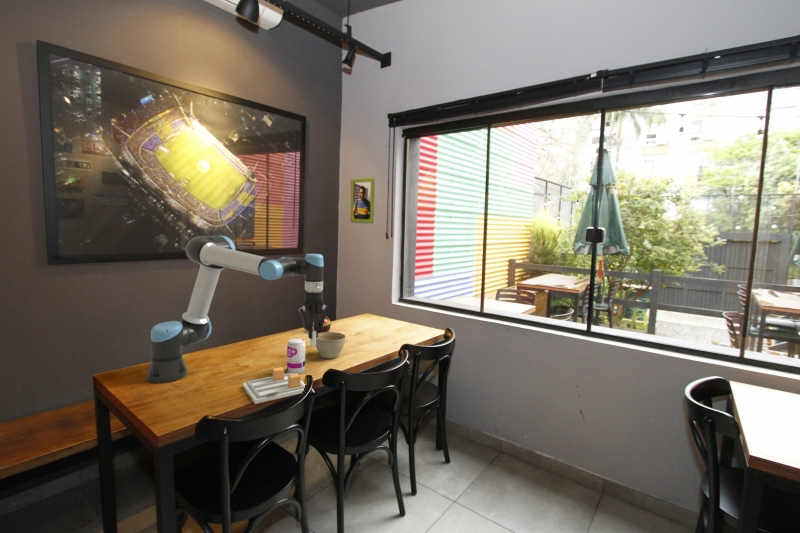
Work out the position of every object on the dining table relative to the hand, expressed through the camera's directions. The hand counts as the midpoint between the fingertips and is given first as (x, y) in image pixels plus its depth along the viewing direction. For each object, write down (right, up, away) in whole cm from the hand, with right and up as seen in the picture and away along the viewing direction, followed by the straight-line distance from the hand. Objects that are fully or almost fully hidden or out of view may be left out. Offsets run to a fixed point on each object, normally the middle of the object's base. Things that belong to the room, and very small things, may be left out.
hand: (313, 345), depth 164 cm
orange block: (-16, -16, +3) cm, 22 cm away
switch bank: (-15, -18, -2) cm, 24 cm away
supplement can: (-12, -16, +17) cm, 27 cm away
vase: (-13, -9, +84) cm, 85 cm away
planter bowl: (0, -14, +40) cm, 43 cm away
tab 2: (-7, -17, -3) cm, 18 cm away
